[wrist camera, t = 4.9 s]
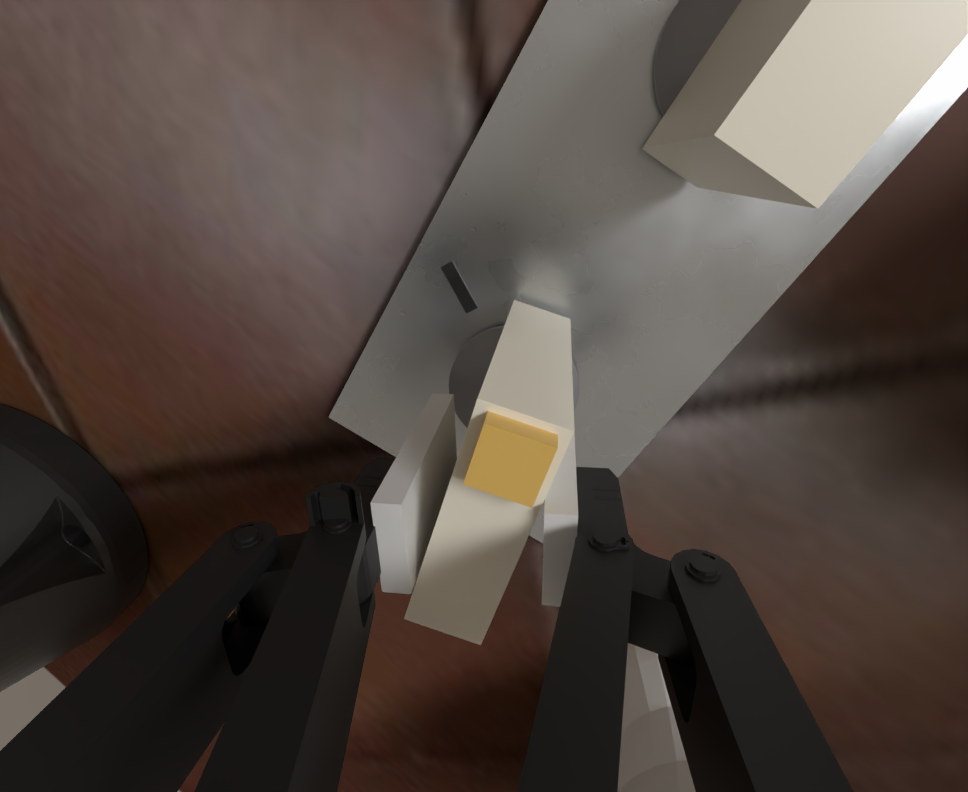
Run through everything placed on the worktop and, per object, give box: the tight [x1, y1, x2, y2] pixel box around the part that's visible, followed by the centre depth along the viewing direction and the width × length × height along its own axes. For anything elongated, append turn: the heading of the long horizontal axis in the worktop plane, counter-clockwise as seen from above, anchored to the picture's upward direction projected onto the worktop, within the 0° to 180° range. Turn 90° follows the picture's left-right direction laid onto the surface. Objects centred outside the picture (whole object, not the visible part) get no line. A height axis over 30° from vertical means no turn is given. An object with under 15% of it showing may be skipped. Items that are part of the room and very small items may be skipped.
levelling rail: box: [329, 0, 968, 543], centre depth 16 cm, size 12×38×1 cm, turn 149°
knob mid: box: [642, 0, 968, 209], centre depth 11 cm, size 5×7×10 cm
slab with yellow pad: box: [404, 300, 579, 645], centre depth 17 cm, size 5×7×10 cm
